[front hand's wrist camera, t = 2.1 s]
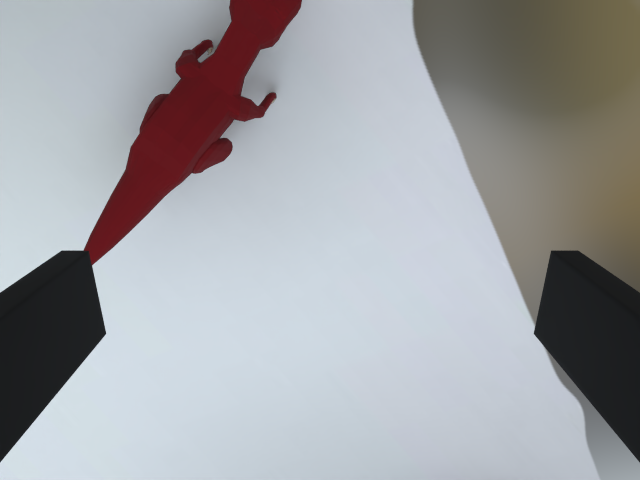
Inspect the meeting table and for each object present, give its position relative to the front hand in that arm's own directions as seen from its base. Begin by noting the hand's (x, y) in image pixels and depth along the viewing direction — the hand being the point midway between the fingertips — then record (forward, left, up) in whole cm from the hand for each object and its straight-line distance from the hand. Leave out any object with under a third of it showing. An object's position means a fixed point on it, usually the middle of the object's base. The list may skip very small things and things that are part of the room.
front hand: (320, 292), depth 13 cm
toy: (-5, -8, -28) cm, 29 cm away
